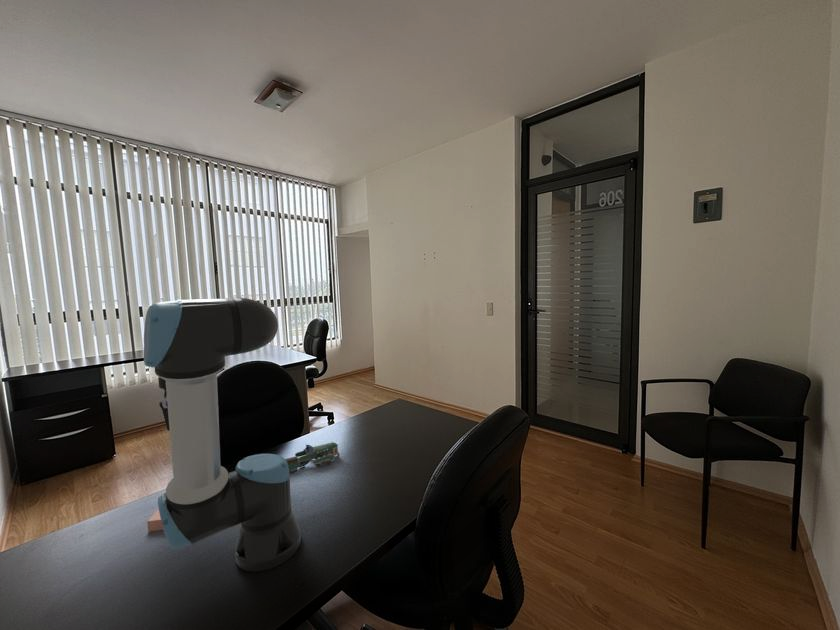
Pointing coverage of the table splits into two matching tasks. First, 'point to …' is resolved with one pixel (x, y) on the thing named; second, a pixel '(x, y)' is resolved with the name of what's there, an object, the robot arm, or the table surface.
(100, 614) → the table surface
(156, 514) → the orange triangular block
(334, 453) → the hoverbike
